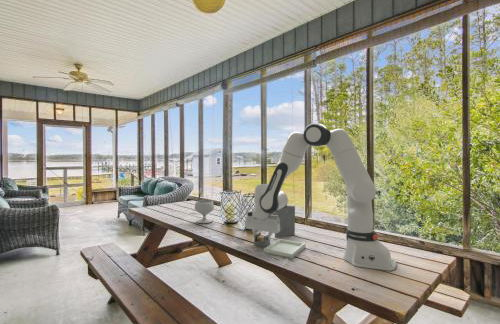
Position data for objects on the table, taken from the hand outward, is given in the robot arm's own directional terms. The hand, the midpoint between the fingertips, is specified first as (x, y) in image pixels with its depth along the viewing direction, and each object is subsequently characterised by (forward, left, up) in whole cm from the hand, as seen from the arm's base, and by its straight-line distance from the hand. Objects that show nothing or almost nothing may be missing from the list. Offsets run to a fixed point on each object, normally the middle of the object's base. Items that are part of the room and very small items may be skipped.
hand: (262, 238), depth 151 cm
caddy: (0, 0, -4) cm, 4 cm away
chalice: (+61, -24, -4) cm, 66 cm away
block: (0, 0, -3) cm, 3 cm away
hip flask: (-3, -23, -4) cm, 24 cm away
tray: (-14, +1, -4) cm, 14 cm away
